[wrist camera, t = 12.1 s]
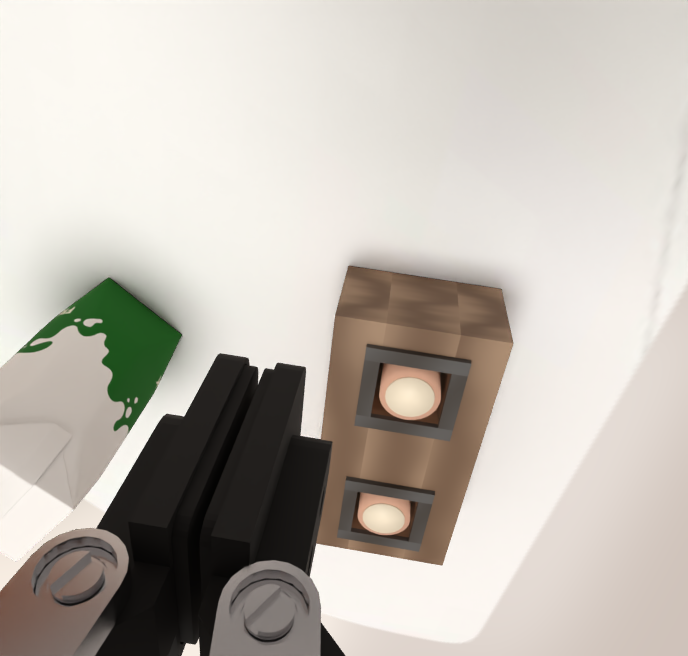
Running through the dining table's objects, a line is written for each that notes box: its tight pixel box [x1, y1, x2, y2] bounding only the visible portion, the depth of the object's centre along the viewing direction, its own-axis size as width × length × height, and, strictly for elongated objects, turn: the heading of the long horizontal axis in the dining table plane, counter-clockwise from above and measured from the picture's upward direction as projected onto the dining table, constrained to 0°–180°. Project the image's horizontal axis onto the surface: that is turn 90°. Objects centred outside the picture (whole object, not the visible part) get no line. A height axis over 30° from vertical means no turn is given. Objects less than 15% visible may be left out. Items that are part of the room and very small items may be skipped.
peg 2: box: [358, 492, 411, 535], centre depth 47 cm, size 4×4×7 cm
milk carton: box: [0, 278, 182, 562], centre depth 39 cm, size 9×9×20 cm
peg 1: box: [379, 363, 441, 420], centre depth 41 cm, size 4×4×7 cm
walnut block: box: [316, 266, 513, 565], centre depth 44 cm, size 11×22×7 cm, turn 174°
